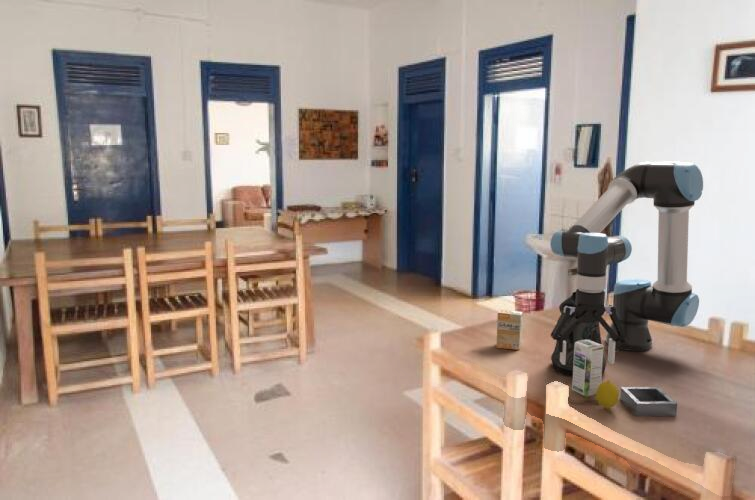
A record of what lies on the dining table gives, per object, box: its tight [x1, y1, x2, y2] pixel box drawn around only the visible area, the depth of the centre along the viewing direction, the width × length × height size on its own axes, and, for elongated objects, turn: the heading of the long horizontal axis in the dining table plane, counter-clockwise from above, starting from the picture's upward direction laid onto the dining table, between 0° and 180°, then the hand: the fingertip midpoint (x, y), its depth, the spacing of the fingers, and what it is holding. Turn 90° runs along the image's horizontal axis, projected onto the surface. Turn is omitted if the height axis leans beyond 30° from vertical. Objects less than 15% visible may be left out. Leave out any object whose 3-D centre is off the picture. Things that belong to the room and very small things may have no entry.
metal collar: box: [619, 386, 678, 417], centre depth 153 cm, size 10×10×4 cm
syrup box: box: [571, 340, 604, 397], centre depth 160 cm, size 6×6×14 cm
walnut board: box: [565, 383, 600, 405], centre depth 162 cm, size 11×11×1 cm
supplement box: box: [495, 309, 524, 351], centre depth 200 cm, size 8×5×13 cm, turn 68°
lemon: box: [596, 380, 619, 410], centre depth 152 cm, size 6×6×8 cm
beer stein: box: [550, 291, 607, 378], centre depth 177 cm, size 16×19×25 cm
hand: (586, 362), depth 160 cm, fingers open, 13 cm apart
